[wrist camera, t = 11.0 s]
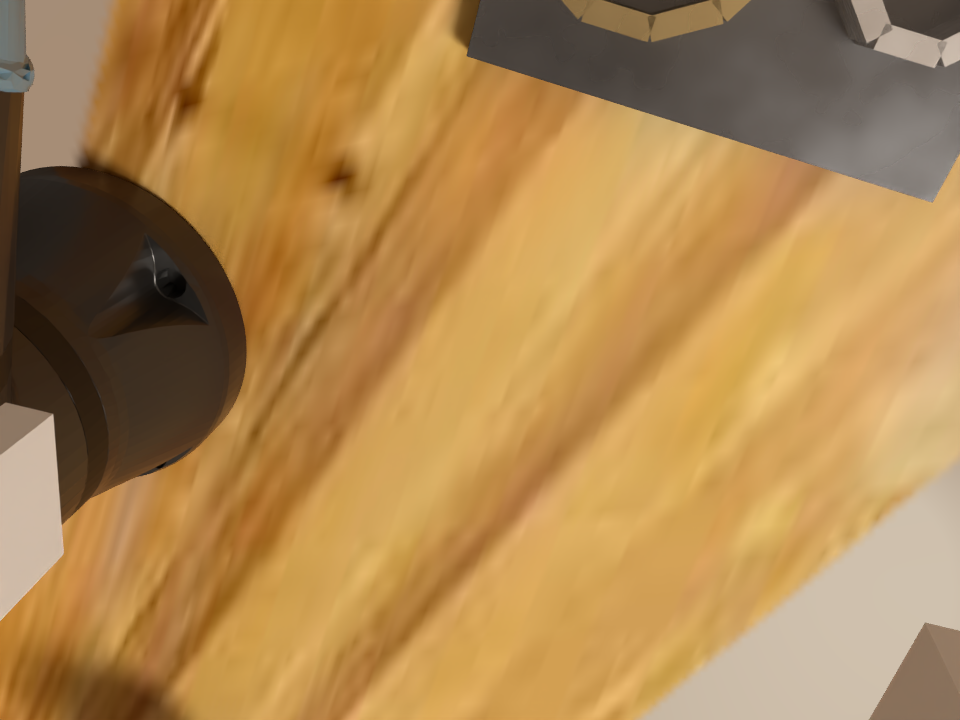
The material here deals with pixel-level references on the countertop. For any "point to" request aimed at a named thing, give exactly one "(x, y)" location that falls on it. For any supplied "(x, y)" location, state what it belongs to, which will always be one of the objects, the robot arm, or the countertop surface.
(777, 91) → the plate
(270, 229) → the countertop surface
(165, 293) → the robot arm
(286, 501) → the countertop surface
